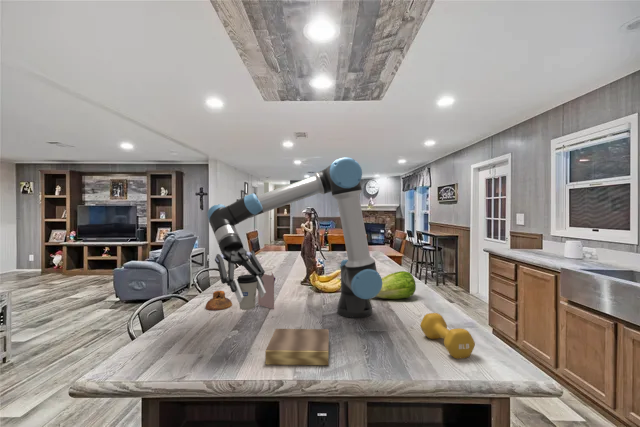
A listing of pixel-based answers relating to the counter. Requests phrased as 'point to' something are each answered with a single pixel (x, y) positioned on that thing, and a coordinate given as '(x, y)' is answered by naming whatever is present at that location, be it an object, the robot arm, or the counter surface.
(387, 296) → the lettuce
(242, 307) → the coffee cup
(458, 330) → the dumbbell
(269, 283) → the greeting card
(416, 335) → the counter surface
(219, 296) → the brown round patterned piece
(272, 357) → the brown flat square block
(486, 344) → the counter surface
